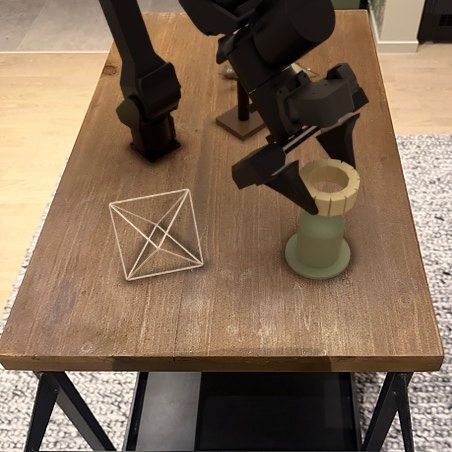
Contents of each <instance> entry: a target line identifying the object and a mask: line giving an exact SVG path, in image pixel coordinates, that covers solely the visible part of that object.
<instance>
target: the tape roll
mask: <svg viewBox="0 0 452 452" xmlns="http://www.w3.org/2000/svg"><path fill="white" fill-rule="evenodd" d="M353 169H354V168H353V167H352V166H350V165H348V164H347V163H345V162H342V163H341V160H335V159H331V158H330V157H329V158H321V159H314V160H312V161H309V162H308V163H306V164H304V166H302V167H301V169H299V175H300V177H301V178H302V180H303V182H304V184H305V185H306V187H307V189H308V191H309V192H310V194H311V196H312V198H313V199H314V201H315V203H316V206H317V208H318V210H319V213H318V214H317V215H321V216H326V217H327V215H328V214H329V216H335V215H343V213H344V214H345V213H347V212H348V211H349V210H351V209H353V207H354V205H356V202H357V197H358V193H359V189H360V184H361V178H360V175H359V173H358V171H357V172H356V170H357V169H356V170H355V169H354V170H353ZM322 182H329V183H332V184H333V183H334V184H336V185H338V186H339V187H340V188H342V189H341V190H340V191H335V192H325V191H320V190H319V189H317V188H315V187H314V186H313V185H315V184H318V183H322Z"/></svg>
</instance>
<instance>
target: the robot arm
mask: <svg viewBox="0 0 452 452" xmlns="http://www.w3.org/2000/svg"><path fill="white" fill-rule="evenodd" d="M177 1H178V4H179V5H180V7H181V8H182V9H183V11H184V12H185V14H186V16H187V17H188V18H189V20H190V21H191V23H192V24H193V26H194V27H195V28H196V29H197V30H198V31H199V32H200V33H201V34H203V36H205V37H210V36H211V37H217V36H219V35H222V36H221V37H219V38H218V39H217V51H216V54H215V62H216V64H217V65H222V64H223V63H224V64H225V63H226V62H228V63H229V65H230V67H231V69H233V70H234V72H235V73H236V75H237V77H238V79H239V80H240V82H241V84H242V85H243V87H244V89H245V91H246V92H247V94H248V96H249V100H250V101H251V103H249V104H250V105H248V106H247V108H248V109H249V111H250V113H251V114H252V113H254V112H255V111H258V113H259V115H260V117H261V118H262V120H263V122H264V124H265V125H266V126H265V127H266V129H267V130H268V132H269V134H268V135H265V137H264V138H265V141H266V142H267V143H266V144H264V145H262V146H261V147H259V148H257V149H254V150H253V151H251V152H249V153H247V155H245V156H244V157H242V158H241V159H239V160H238V161H237V162H235V163H234V164H233V165H231V179H232V181H233V182H234V184H235V186H236V187H237V189H238V190H239V191H240V190H244V189H246V188H249V187H251V186H254V185H255V186H256V187H260V186H262V185H264V186H266V187H267V188H269V189H271V190H273V191H275V192H277V193H278V194H280V195H282V196H284V197H285V198H286V199H288V200H289V201H291V202H292V203H294V204H295V205H296V206H298V207H299V208H301V209H302V210H303V211H306V212H308V213H309V214H311V215H317V214H318V213H319V210H318V208H317V206H316V203H315V201H314V199H313V198H312V196H311V194H310V192H309V191H308V189H307V187H306V185H305V184H304V182H303V180H302V178H301V177H300V175H299V172H300V160H299V159H295V160H293V161H290V159H289V157H288V154H290V153H291V152H292V151H293V150H295V149H296V148H297V147H298V146H300V145H302V144H303V143H304V142H305V141H307V140H308V139H309V138H311V137H312V136H314V135H315V134H316V133H317V132H319V131H320V133H318V134H317V135H316V136H315V137H314V138H315V139H316V141H317V142H318V143H319V145H320V146H321V148H322V149H323V150H324V151H325V153H326V154H327V156H328V157H329V159H335V160H341V163H342V162H345V163H347V164H348V165H350V166H352V167H353V168H354V169H355V170H356V172H357V173H358V171H357V165H356V157H355V151H354V143H353V142H354V141H353V139H354V138H353V132H354V129H355V126H356V123H357V121H358V120H359V119H360V118H361V112H358V111H359V110H360V109H362V108H363V107H365V106H366V105H367V104H368V103H370V100H369V98H368V96H367V94H366V93H365V90H364V88H363V87H362V86H360V84H359V82H358V78H357V75H356V74H355V72H354V71H353V69H352V67H351V65H350V64H349V63H348V62H338V63H336V64H335V65H334V66H331V68H329V69H328V70H327V71H326V75H325V76H326V77H322V78H320V79H319V80H317V81H312V79H311V78H309V76H308V75H307V73H306V72H304V71H303V70H301V71H300V72H298V73H297V74H296V73H295V71H294V69H293V67H292V66H290V65H291V64H293V63H294V62H297V61H299V60H300V59H301V58H303V57H304V56H306V55H307V54H309V53H310V52H312V51H313V50H315V49H317V47H319V46H320V45H322V44H323V43H325V42H326V41H328V40H329V39H330V37H332V35H333V33H334V31H335V29H336V23H337V22H336V21H337V19H336V11H335V7H334V4H333V2H332V0H177ZM98 3H99V5H100V8H101V10H102V13H103V16H104V19H105V21H106V24H107V26H108V29H109V31H110V34H111V37H112V39H113V41H114V45H115V47H116V50H117V52H118V54H119V57H120V60H121V68H120V69H121V70H120V75H119V76H120V77H119V88H120V90H121V94H122V96H123V100H122V101H121V102H120V104H118V106H117V107H115V113H116V115H117V118H118V120H119V122H120V123H121V124H122V125H124V126H125V127H128V128H129V129H130V134H131V137H132V141H130V143H129V147H130V148H131V149H132V150H133V151H135V152H136V153H137V154H138V155H139V156H141V157H142V158H143V159H145V160H146V161H147V162H148V163H150V164H154V163H156V162H157V161H159V160H161V159H162V158H164V157H166V156H167V155H169V154H171V153H173V152H174V151H176V150H177V149H179V148H181V147H182V144H181V142H180V141H179V140H178V139H176V138H177V131H176V125H175V118H174V116H173V115H172V113H173V112H174V111H177V110H178V109H179V104H180V100H181V99H182V87H183V86H182V85H181V82H180V81H179V79H178V76H177V72H176V68H175V65H174V64H173V63H172V62H171V61H166V60H165V59H163V58H162V57H161V56H160V55H159V54H158V53H157V52H156V51H155V49H154V46H153V43H152V40H151V36H150V34H149V31H148V28H147V26H146V23H145V20H144V17H143V13H142V11H141V8H140V5H139V2H138V0H98ZM289 66H290V67H289ZM286 68H287V69H286ZM283 70H284V71H283ZM237 77H236V78H237ZM354 113H355V114H354ZM354 169H353V170H354Z"/></svg>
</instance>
